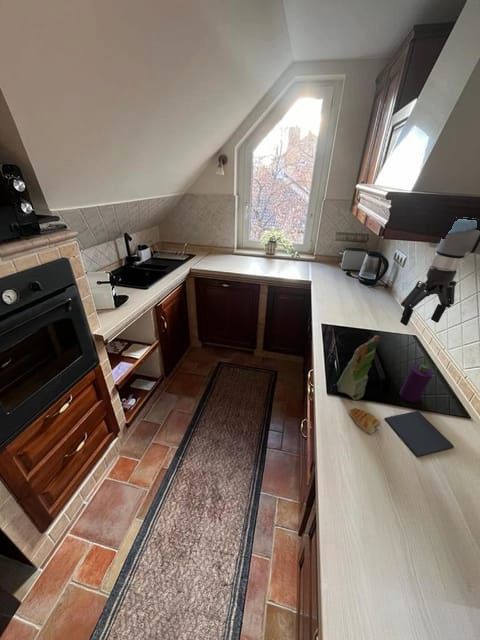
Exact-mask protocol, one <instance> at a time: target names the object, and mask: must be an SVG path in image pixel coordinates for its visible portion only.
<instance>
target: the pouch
mask: <svg viewBox="0 0 480 640" xmlns="http://www.w3.org/2000/svg"><path fill="white" fill-rule="evenodd" d="M380 338H381V336H379V335H378V334H376V335H374V336H373V337H372V338H370V339H369V340H367V341H366V342H365V343H363V344H362V345H360V346H358V347H357V348H356V349H355V350H354V354H353V356H352V358H351V359H350V361H349V362H347V366H346V367H345V368H344V370H343V371H342V374H341V375H340V377H339V379H338V381H337V383H336V386H337V392H338V393H342V394H346V395H347V396H348V397H350V398H351V399H352V400H353V401H358V400H361V399H362V398H363V397H364V396H365V392H366V386H367V383H368V380H369V376H368V375H369V374H368V373H369V372H370V371H369V370H370V369H371V368H372V367H373V365H372V362H373V359H374V358H375V353H376V349H377V347H378V345H379V341H380Z"/></svg>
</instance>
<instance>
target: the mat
mask: <svg viewBox="0 0 480 640" xmlns="http://www.w3.org/2000/svg"><path fill="white" fill-rule="evenodd" d="M384 420H385V422H386V423H387V424H388V425H389V427H390V428H391V429H392V430H393V432H395V434H396V435H397V436H398V437H399V439H400V440H401V441H402V442H403V443H404V444H405V445H406V447H407V448H408V449H409V450H410V451H411V452H412V453H413V455H415V457H416V458H420V457H424V456H428V455H431V454H435V453H438V452H439V453H440V452H443V451H446V450H450V449H451V450H452V449H454V448H455V445H454V444H453V443H452V442H451V441H450V440H449V439H448V438H447V437H446V436H445V435H444V434H443V433H441V431H439V429H438V428H437V427H436V426H434V425H433V424H432V423H431V422H430V421H429V420H428V418H427V417H426V416H424V415H423V413H421V412H420V411H419V410H414V411H409V412H405V413H400V414H395V415H391V416H387V417H384Z"/></svg>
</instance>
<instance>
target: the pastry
mask: <svg viewBox="0 0 480 640" xmlns="http://www.w3.org/2000/svg"><path fill="white" fill-rule="evenodd" d="M349 412H350V416H351V418H352V419H353V421H354V422H355V424H356V425H357V426H358V427H359V428H360V429H362V430H363V431H364V432H365V433H367V434H369V435H371V434H373V433H374V432H375V431H376V430H378V429H379V428H380V427H381V421H380V419H378V418H377V417H375V415H373V414H372V413H370V412H367V411H365V410H363V409H360V408H357V407H355V408H351V409H350V410H349Z"/></svg>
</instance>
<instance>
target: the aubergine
mask: <svg viewBox="0 0 480 640" xmlns="http://www.w3.org/2000/svg"><path fill="white" fill-rule="evenodd" d="M432 376H433V372H432V371H431V370H430V369H429V368H428V366H427V365H426V364H414V365H412V366H411V368H410V370H409V372H408V374H407V376H406V377H405V380H404V382H403V384H402V386H401V388H400V390H399V396H400V397H401V398H402V399H403V400H404V401H406V402H409V403H418V402H419V400H420V398H421V396H422V395H423V393H424V391H425V389H426V387H427V386H428V385H429V382H430V381H431V379H432Z"/></svg>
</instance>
